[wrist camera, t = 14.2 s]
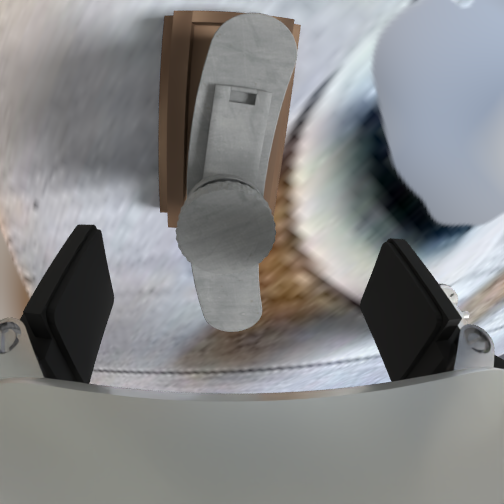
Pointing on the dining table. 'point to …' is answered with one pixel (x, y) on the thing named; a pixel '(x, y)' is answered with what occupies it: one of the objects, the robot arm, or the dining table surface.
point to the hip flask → (234, 166)
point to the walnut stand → (183, 102)
